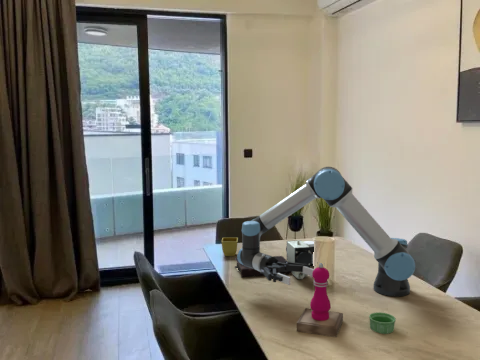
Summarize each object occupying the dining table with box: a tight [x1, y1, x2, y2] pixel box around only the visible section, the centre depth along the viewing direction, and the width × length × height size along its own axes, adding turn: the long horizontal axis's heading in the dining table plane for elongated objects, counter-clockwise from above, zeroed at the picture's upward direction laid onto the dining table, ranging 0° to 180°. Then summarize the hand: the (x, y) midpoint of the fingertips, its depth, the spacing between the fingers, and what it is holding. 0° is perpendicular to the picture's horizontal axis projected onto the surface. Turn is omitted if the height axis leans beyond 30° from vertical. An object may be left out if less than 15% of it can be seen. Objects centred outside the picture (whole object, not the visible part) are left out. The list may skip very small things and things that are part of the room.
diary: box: [234, 255, 293, 278], centre depth 232 cm, size 19×25×5 cm
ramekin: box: [368, 311, 397, 335], centre depth 165 cm, size 9×9×4 cm
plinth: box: [296, 307, 344, 338], centre depth 168 cm, size 14×14×3 cm
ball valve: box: [285, 239, 312, 280], centre depth 220 cm, size 18×8×18 cm, turn 11°
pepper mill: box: [309, 262, 332, 321], centre depth 167 cm, size 7×7×20 cm
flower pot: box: [221, 237, 239, 257], centre depth 258 cm, size 9×9×9 cm
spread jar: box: [303, 240, 315, 268], centre depth 240 cm, size 12×11×12 cm
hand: (303, 277), depth 173 cm, fingers open, 13 cm apart
